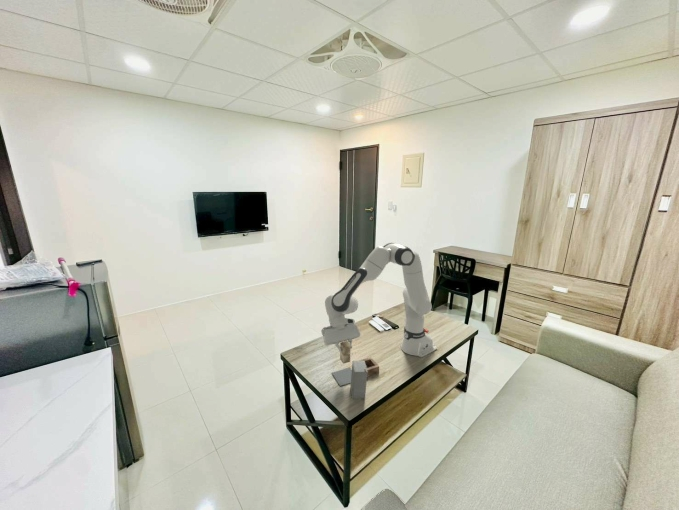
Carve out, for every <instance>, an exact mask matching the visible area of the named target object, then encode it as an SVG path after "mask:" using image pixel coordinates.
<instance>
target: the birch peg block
mask: <svg viewBox="0 0 679 510" xmlns="http://www.w3.org/2000/svg"><path fill="white" fill-rule="evenodd" d="M349 343H350V342H348V340H347V341H343V342H339V346H340V347H342V349H343V351H340V352H339V353H340V354H339V360H340V361H341V363H342V364H343V365H345V364H347V363H351V345H352V344H351V345H350V344H349Z"/></svg>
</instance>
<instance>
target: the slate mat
mask: <svg viewBox="0 0 679 510" xmlns="http://www.w3.org/2000/svg"><path fill="white" fill-rule="evenodd" d="M331 374H332V376H333V378H334V379H335V381H336V382H337V384H338V385H339V387H343V386H347V385H351V375H352V367H347V368H343V369H339V370H336V371H332V372H331Z"/></svg>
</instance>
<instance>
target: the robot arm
mask: <svg viewBox="0 0 679 510" xmlns="http://www.w3.org/2000/svg"><path fill="white" fill-rule="evenodd" d="M389 263H392V264H395V265H398V266H402V267H401V268H402V274H403V282H404V286H405V288H404V289H403V291H402V297H403V302H404V314H405V319H404V321H405V324H404V327H403V338H402V341H401V345H400V349H401V351H402V352H404V353H405V354H408V355H409V356H410V355H411V356H416V357H420V358H424V357H426V356H427V355H429V354H430V353H433V352H434V351H436V350H437V346H436V345H435V344H434V341H433V339H432V337H431V336H430V335H428V334H429V329H426V328H425V327H424V325H425V315H427V314H429V313H430V312H431V311H432V308H433V305H432V302H431V300H430V297H429V294H428V290H427V287H426V285H425V280H424V279H425V278H424V273H423V265H422V261H421V258H420V256H419V253H418V252H416V251H413V250H412V249H411V248H409V247H408V246H405V245H403V244H401V243H396V242H388V243H386V244H384V245H383V246H381V245H378V246H376V247H375V248H374V249H373V250H372V251H371V252H370V253H369V254H368V256H367V257H366V259H364V262H362V264H361V266H360V267H358V269H357V270H355V272H354V273H353V274H352V275H351V276H350V277H349V279H348V280H347V281H346V283H345V284H344V285H343V287H342V288H341V289H340V290H338V291H337V292H336V293H334V294H331V295H329V296H328V297H326V298H325V300H324V307H325V310H326V314H327V316H328V322H329V326H324V327H322V329H321V330H320V331H321V335H322V336H323V343H324V346H327V347H328V346H331V345H334V346H335V347H336V348H337V350H338V352H339V353H340V351H343V349H342V347H340V343H341V342H345V341H348V343H349V344H350V345H351V349H353V345H352V343H353V340H354V339H355V340H357V339H358V338H360V337H361V331H360V330H359V327H358V325H357V324H356V323H355V322H356V321H355V319H354V318H347V317H345V315H349V314H353V313H355V312H356V311H357V310H358V308H359V302H358V299H356V297H354V296H353V295H354V294H355V292H356V291H357V290H358V288H359V287H360V286H361V285H362V284H363V283H367V282H371V281H375V280H376V279H377V278H378V277H379V276H381V274H382V273H383V271H384V270H385V268H386V266H387V265H388V264H389Z"/></svg>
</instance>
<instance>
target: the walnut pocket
mask: <svg viewBox="0 0 679 510" xmlns="http://www.w3.org/2000/svg"><path fill="white" fill-rule="evenodd" d="M358 361H365V364H366V366H367V367H366V368H367V371H368V373H367V377H370V376H373V375H376V374H379V373H380V366H379V364H378V363H377V362H376V361H375V360H374V359H373V358H372V357H371V356H370V357H367V358H363V359H360V360H358Z"/></svg>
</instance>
